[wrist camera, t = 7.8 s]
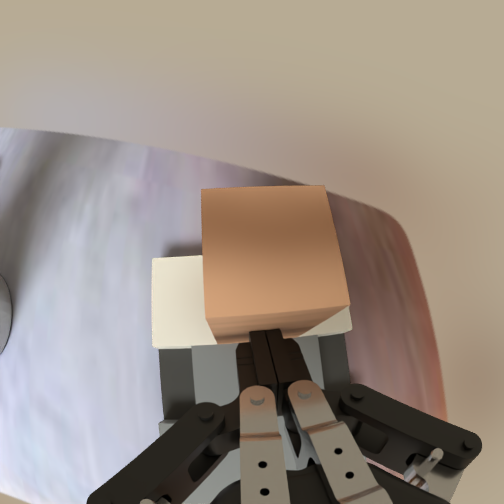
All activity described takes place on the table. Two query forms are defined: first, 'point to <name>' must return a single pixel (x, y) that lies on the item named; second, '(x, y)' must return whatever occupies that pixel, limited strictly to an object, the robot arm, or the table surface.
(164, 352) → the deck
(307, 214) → the block
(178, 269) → the pad
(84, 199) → the table surface
